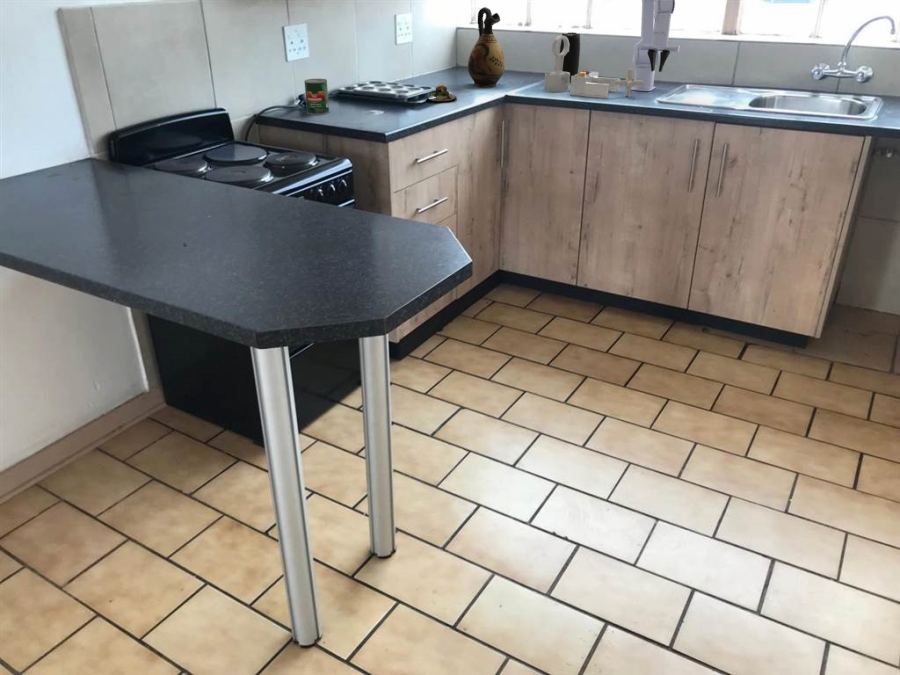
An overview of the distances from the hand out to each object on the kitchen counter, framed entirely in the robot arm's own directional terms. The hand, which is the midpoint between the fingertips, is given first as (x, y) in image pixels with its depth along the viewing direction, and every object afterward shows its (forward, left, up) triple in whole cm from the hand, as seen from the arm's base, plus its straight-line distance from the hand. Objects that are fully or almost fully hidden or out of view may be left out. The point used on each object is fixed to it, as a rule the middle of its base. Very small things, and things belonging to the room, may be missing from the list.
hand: (656, 71), depth 281 cm
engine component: (-2, -40, -10) cm, 41 cm away
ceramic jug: (+2, -71, -10) cm, 72 cm away
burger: (+40, -71, -10) cm, 82 cm away
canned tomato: (+80, -99, -10) cm, 128 cm away
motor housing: (0, -24, -10) cm, 26 cm away
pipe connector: (0, -10, -10) cm, 14 cm away
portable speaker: (-25, -44, -10) cm, 52 cm away
